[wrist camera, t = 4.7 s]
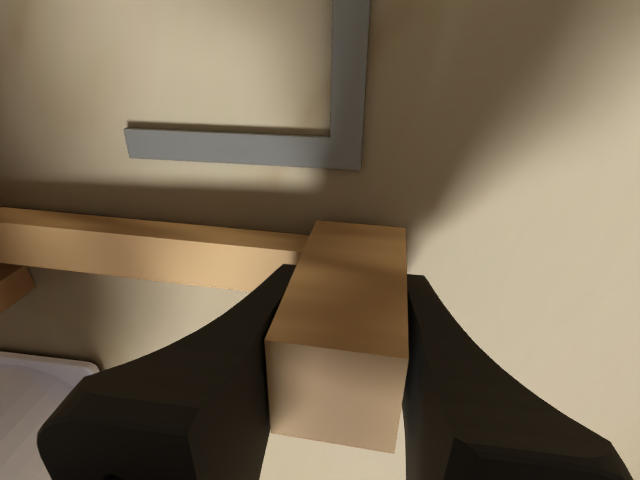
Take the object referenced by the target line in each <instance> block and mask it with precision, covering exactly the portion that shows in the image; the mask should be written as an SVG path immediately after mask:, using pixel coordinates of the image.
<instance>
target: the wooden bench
mask: <svg viewBox="0 0 640 480" xmlns="http://www.w3.org/2000/svg"><path fill="white" fill-rule="evenodd" d="M34 288H35V284H34V282H33V279H32V277H31V274H30V272H29V269H28V267H27V266H24V265H15V264H7V263H0V313H2V312H3V311H4V310H6V309H7V308H8V307H10V306H11V305H12V304H14V303H15V302H16V301H18V300H19V299H20V298H22V297H23V296H24V295H26V294H27V293H28V292H30V291H31V290H32V289H34Z"/></svg>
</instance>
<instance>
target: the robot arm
mask: <svg viewBox="0 0 640 480" xmlns="http://www.w3.org/2000/svg"><path fill="white" fill-rule="evenodd" d="M296 266H297V265H292V264H282V265H281V266H280V267H279V268H278V269H276V270H275V271H274V272H273V273H272V274H271V275H270V276H269V277H268V278H267V279H266V280H265V281H263V282H262V283H261V284H260V285H259V286H258V287H257V288H256V289H254V290H253V291H252V292H251V293H250V294H249V295H247V296H246V297H245V298H244V299H243V300H241V301H240V302H239V303H237V304H236V305H235V306H234V307H232V308H231V309H230V310H228V311H227V312H226V313H224V314H223V315H221V316H220V317H218V318H217V319H215V320H214V321H212V322H210V323H209V324H207V325H206V326H204V327H202V328H201V329H199V330H197V331H195V332H194V333H192V334H190V335H188V336H186V337H184V338H182V339H180V340H178V341H176V342H174V343H172V344H170V345H168V346H166V347H164V348H162V349H159V350H157V351H155V352H153V353H150V354H148V355H145V356H143V357H140V358H138V359H135V360H133V361H130V362H127V363H125V364H122V365H119V366H116V367H113V368H110V369H107V370H104V371H101V372H100V371H99V369H98V367H97V366H96V365H95V364H93V363H91V362H86V361H77V360H69V359H61V358H52V357H44V356H35V355H27V354H19V353H10V352H2V351H0V480H259V477H260V473H261V468H262V464H263V459H264V455H265V450H266V446H267V442H268V437H269V433H270V429H271V427H270V413H269V398H268V384H267V370H266V356H265V342H264V340H265V337H266V335H267V333H268V330H269V328H270V326H271V323H272V321H273V319H274V317H275V314H276V312H277V310H278V307H279V305H280V303H281V300H282V298H283V296H284V293H285V291H286V289H287V286H288V284H289V282H290V279H291V277H292V275H293V273H294V270H295V268H296ZM407 304H408V347H409V361H408V368H407V374H406V380H405V387H404V393H403V400H402V410H403V418H404V428H405V447H406V480H633V478H632V476H631V475H630V473H629V471H628V469H627V467H626V466H625V464H624V462H623V461H622V459H621V458H620V456H619V455H618V453H617V451H616V450H615V448H614V447H613V445H612V444H611V442H610V441H608V440H606V439H605V438H603V437H601V436H600V435H598V434H596V433H595V432H593V431H591V430H590V429H588V428H586V427H585V426H583V425H581V424H579V423H578V422H576V421H574V420H573V419H571V418H569V417H568V416H566V415H565V414H563V413H561V412H560V411H558V410H557V409H556V408H554V407H553V406H551V405H550V404H548V403H547V402H545V401H544V400H542V399H541V398H539V397H538V396H537V395H535V394H534V393H533V392H531V391H530V390H528V389H527V388H526V387H524V386H523V385H522V384H521V383H519V382H518V381H517V380H516V379H514V378H513V377H512V376H511V375H509V374H508V373H507V372H506V371H505V370H503V369H502V368H501V367H500V366H499V365H498V364H496V363H495V362H494V361H493V360H492V359H491V358H490V357H489V356H488V355H487V354H486V353H485V352H484V351H483V350H482V349H481V348H480V347H479V346H478V345H477V344H476V343H475V342H474V341H473V340H472V339H471V338H470V337H469V336H468V334H467V333H466V332H465V331H464V330H463V329H462V328H461V326H460V325H459V324H458V323H457V321H456V320H455V319H454V318H453V316H452V315H451V314H450V312H449V311H448V310H447V308H446V307H445V306H444V304H443V303H442V302H441V300H440V299H439V297H438V296H437V294H436V293H435V291H434V290H433V288H432V287H431V285H430V283H429V282H428V280H427V279H426V278H425V276H423V275H411V274H407Z"/></svg>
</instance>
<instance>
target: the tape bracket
mask: <svg viewBox="0 0 640 480" xmlns="http://www.w3.org/2000/svg"><path fill="white" fill-rule="evenodd" d="M369 15H370V0H333V28H332V77H331V126H330V136H307V135H284V134H261V133H238V132H215V131H192V130H169V129H145V128H125V129H123V130H124V134H125V139H126V143H127V148H128V153H129V157H130V158H137V159H156V160H175V161H194V162H213V163H232V164H251V165H270V166H289V167H307V168H326V169H345V170H360V169H361V153H362V136H363V118H364V101H365V84H366V67H367V49H368V32H369Z"/></svg>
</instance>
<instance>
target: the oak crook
mask: <svg viewBox="0 0 640 480" xmlns="http://www.w3.org/2000/svg"><path fill="white" fill-rule="evenodd" d="M0 263H7V264H15V265H24V266H33V267H41V268H50V269H59V270H67V271H76V272H85V273H93V274H102V275H111V276H119V277H128V278H137V279H145V280H154V281H163V282H171V283H180V284H189V285H197V286H206V287H215V288H223V289H232V290H241V291H249V292H252V291H253V290H254V289H256V288H257V287H258V286H259V285H260V284H261V283H262V282H263V281H265V280H266V279H267V278H268V277H269V276H270V275H271V274H272V273H273V272H274V271H275V270H276V269H278V268H279V267H280V266H281V265H282V264H292V265H297V266H296V268H295V270H294V273H293V275H292V277H291V279H290V282H289V284H288V286H287V289H286V291H285V293H284V296H283V298H282V300H281V303H280V305H279V307H278V310H277V312H276V314H275V317H274V319H273V321H272V323H271V326H270V328H269V330H268V333H267V335H266V337H265V340H264V342H265V356H266V370H267V384H268V398H269V413H270V427H271V433H274V434H280V435H286V436H292V437H298V438H304V439H309V440H315V441H321V442H327V443H333V444H339V445H345V446H351V447H357V448H363V449H369V450H375V451H381V452H387V453H393V454H394V451H395V445H396V439H397V432H398V426H399V419H400V413H401V406H402V400H403V393H404V387H405V380H406V374H407V368H408V361H409V347H408V304H407V261H406V228H400V227H389V226H377V225H366V224H354V223H342V222H331V221H319V220H316V222H315V224H314V226H313V229H312V231H311V233H310V235H301V234H290V233H279V232H268V231H257V230H247V229H236V228H225V227H214V226H203V225H192V224H181V223H170V222H160V221H149V220H138V219H127V218H116V217H105V216H94V215H83V214H72V213H62V212H51V211H40V210H29V209H18V208H7V207H0Z"/></svg>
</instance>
